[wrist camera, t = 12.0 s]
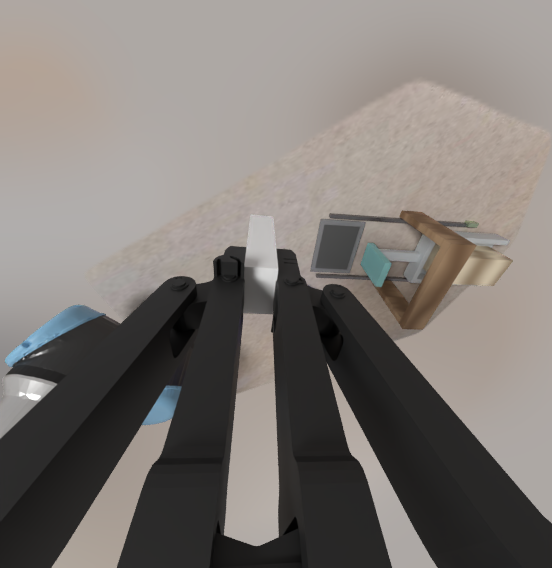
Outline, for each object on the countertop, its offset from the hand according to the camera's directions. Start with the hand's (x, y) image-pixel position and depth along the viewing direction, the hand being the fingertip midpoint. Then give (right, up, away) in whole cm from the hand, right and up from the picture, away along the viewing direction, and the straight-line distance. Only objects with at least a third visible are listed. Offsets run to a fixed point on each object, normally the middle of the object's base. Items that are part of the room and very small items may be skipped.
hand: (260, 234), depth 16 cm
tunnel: (+27, +4, +34) cm, 44 cm away
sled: (+33, +3, +34) cm, 48 cm away
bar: (+40, +2, +34) cm, 52 cm away
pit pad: (+14, +4, +33) cm, 36 cm away
